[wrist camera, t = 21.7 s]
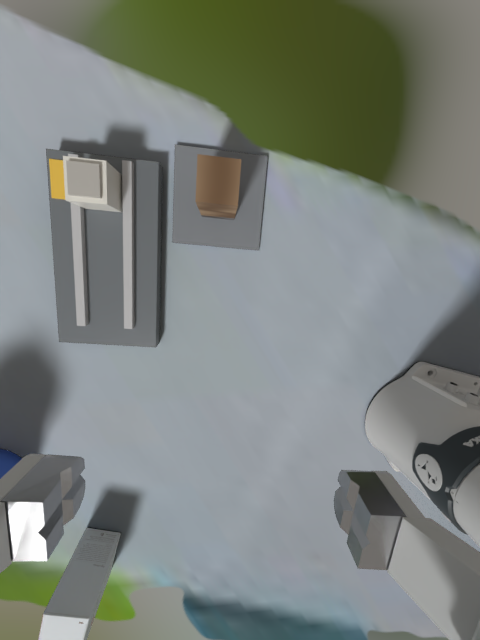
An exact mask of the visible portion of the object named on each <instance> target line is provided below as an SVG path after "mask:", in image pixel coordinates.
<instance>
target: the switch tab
mask: <svg viewBox="0 0 480 640" xmlns="http://www.w3.org/2000/svg"><path fill="white" fill-rule="evenodd" d="M63 167H64V186H65V200H66V201H68V202H71V203H73V204H76V205H78V206H80V207H83V208H85V209H93V210H103V211H113V212H122V174H120V173H119V172H118V171H117V170H116V169H115V168H114V167H113V166H112V165H110V164H109V163H108V162H107V161H105V160H96V159H87V158H79V157H70V156H63Z"/></svg>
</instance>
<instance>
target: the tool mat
mask: <svg viewBox="0 0 480 640" xmlns="http://www.w3.org/2000/svg"><path fill="white" fill-rule="evenodd" d="M197 154H201V155H209V156H218V157H226V158H234V159H241V172H240V185H239V198H238V208H237V211H236V215H235V218H234V220H228V219H218V218H208V217H202V216H201V214H200V211H199V209H198V206H197V204H196V202H195V200H196V177H197ZM267 158H268V156H264V155H256V154H248V153H240V152H232V151H224V150H216V149H207V148H199V147H191V146H183V145H175V162H174V199H173V236H172V242H173V243H182V244H193V245H204V246H215V247H226V248H237V249H248V250H259V242H260V232H261V221H262V211H263V200H264V190H265V179H266V169H267Z"/></svg>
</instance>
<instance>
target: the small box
mask: <svg viewBox="0 0 480 640" xmlns="http://www.w3.org/2000/svg"><path fill="white" fill-rule="evenodd" d="M120 535H121V533H119V532H112V531H105V530H99V529H92V528H86V530H85V532H84V534H83V536H82V538H81V540H80V542H79V544H78V546H77V548H76V550H75V552H74V554H73V556H72V558H71V560H70V562H69V564H68V566H67V567H66V569H65V571H64V574H63V576H62V577H61V579H60V581H59V583H58V585H57V587H56V589H55V591H54V593H53V595H52V597H51V599H50V601H49V603H48V605H47V607H46V609H45V611H44V613H43V618H42V623H41V628H40V633H39V638H38V640H87V637H88V634H89V632H90V629H91V626H92V623H93V620H94V618H95V615H96V612H97V609H98V606H99V603H100V601H101V598H102V595H103V592H104V589H105V587H106V584H107V581H108V578H109V575H110V572H111V570H112V566H113V562H114V558H115V554H116V550H117V546H118V542H119V538H120Z"/></svg>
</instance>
